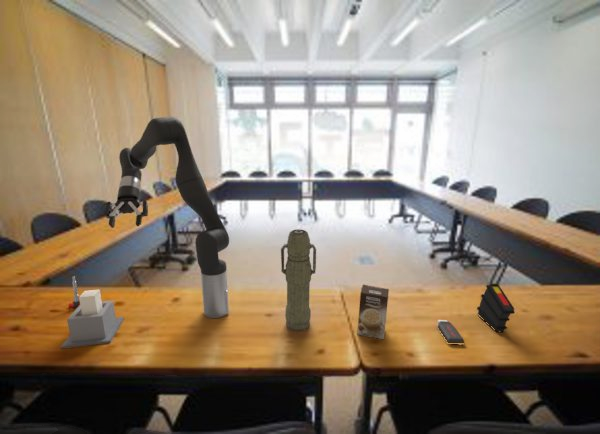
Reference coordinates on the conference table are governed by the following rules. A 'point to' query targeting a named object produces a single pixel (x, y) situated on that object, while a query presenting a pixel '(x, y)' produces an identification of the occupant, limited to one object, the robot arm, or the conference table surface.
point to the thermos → (298, 279)
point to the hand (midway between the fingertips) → (124, 226)
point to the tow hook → (75, 295)
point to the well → (92, 327)
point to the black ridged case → (495, 307)
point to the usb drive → (449, 332)
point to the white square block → (91, 302)
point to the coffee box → (372, 311)
